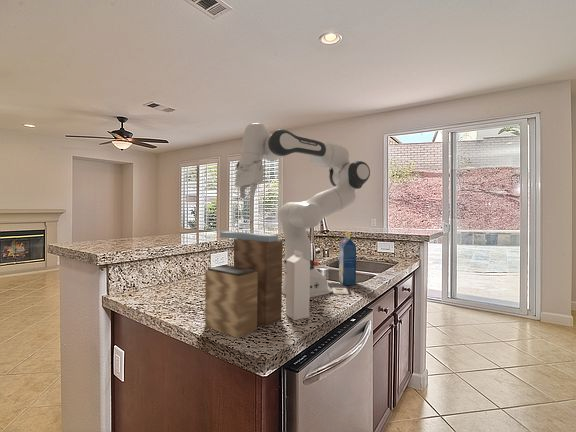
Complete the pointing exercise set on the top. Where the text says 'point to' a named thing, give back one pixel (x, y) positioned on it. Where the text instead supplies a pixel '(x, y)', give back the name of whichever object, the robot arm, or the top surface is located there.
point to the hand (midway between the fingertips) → (246, 197)
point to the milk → (297, 286)
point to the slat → (249, 236)
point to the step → (231, 300)
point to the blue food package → (347, 261)
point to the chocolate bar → (339, 288)
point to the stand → (263, 275)
